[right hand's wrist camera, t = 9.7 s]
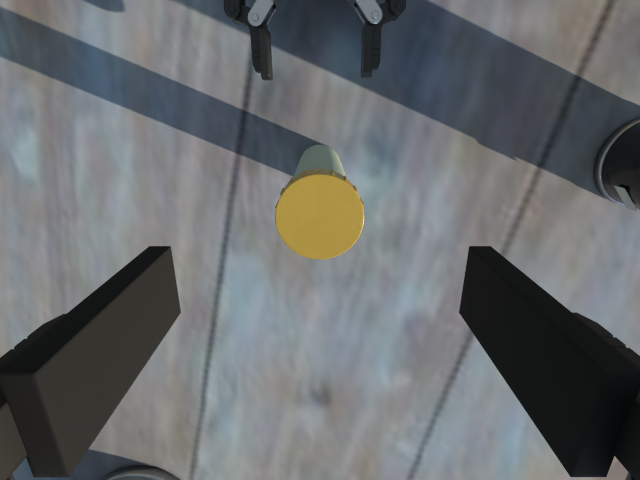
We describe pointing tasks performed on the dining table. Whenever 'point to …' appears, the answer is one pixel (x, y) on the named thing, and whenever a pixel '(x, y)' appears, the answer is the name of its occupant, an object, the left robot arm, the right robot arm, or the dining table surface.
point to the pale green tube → (319, 160)
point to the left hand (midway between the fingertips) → (316, 78)
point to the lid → (319, 214)
